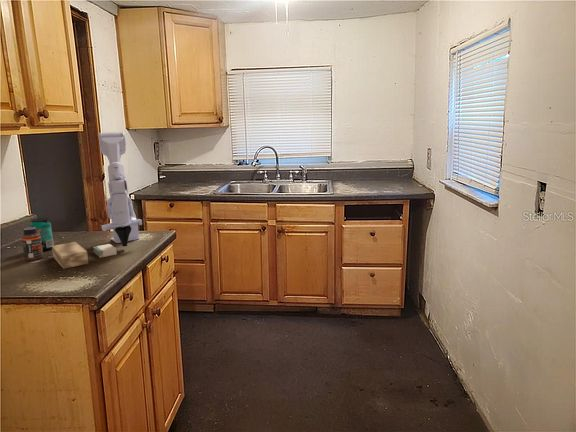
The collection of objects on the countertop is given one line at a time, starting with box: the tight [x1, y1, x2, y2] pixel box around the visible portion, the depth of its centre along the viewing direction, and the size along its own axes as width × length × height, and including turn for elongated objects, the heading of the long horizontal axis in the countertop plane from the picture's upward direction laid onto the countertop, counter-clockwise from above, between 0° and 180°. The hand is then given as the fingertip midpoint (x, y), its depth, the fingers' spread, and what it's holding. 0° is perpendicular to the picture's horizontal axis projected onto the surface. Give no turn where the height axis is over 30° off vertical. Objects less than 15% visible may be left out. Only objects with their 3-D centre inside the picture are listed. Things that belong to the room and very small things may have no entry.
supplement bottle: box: [21, 226, 44, 261], centre depth 158 cm, size 6×6×11 cm
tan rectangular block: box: [51, 241, 89, 270], centre depth 155 cm, size 8×16×4 cm, turn 39°
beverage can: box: [29, 217, 55, 252], centre depth 168 cm, size 7×7×12 cm
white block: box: [92, 243, 118, 258], centre depth 163 cm, size 6×8×2 cm
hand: (124, 245), depth 167 cm, fingers closed
